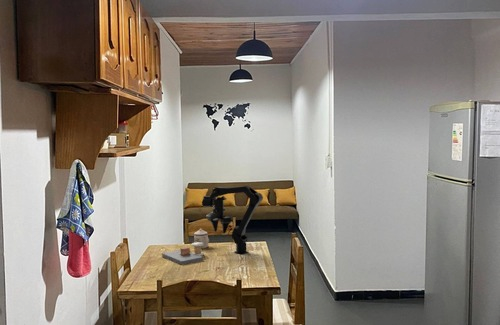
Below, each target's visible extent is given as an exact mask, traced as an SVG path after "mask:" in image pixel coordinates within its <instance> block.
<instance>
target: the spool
mask: <svg viewBox="0 0 500 325" xmlns="http://www.w3.org/2000/svg"><path fill="white" fill-rule="evenodd" d="M191 246H192V247H193V248H194V249H193V250H194V252H193V253H194V254H196V255H199V256H202V257H204V254H205V253H204V252H203V251H202V248H201V246H203V243H202V242H195V243H194V242H192V243H191Z"/></svg>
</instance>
